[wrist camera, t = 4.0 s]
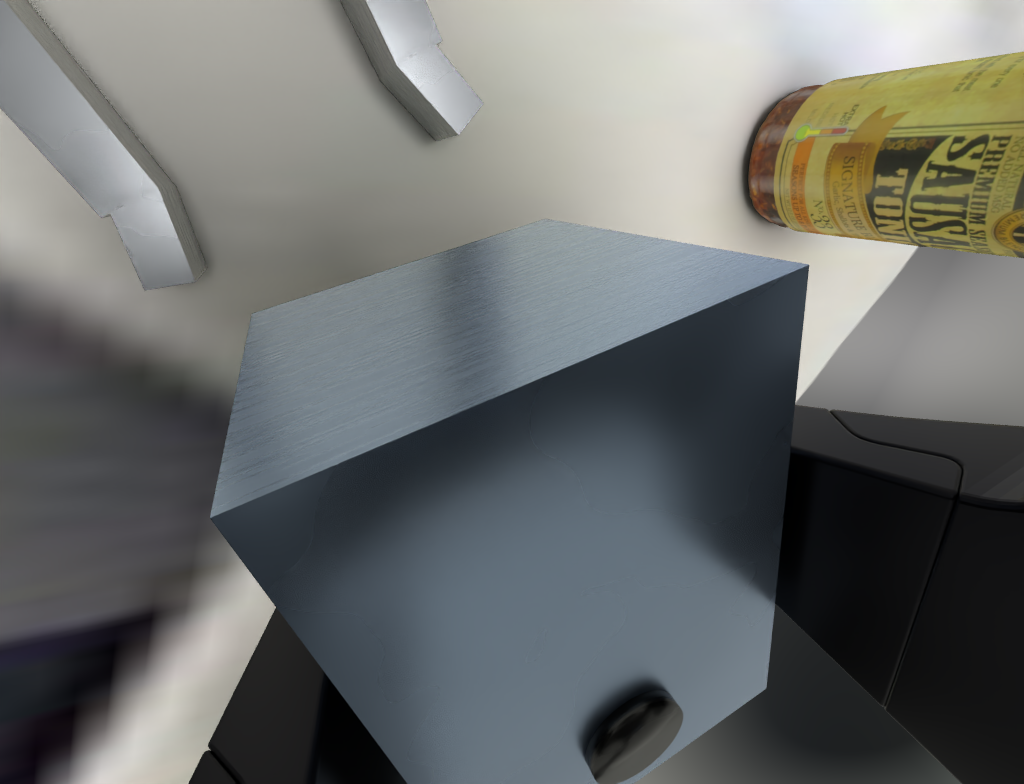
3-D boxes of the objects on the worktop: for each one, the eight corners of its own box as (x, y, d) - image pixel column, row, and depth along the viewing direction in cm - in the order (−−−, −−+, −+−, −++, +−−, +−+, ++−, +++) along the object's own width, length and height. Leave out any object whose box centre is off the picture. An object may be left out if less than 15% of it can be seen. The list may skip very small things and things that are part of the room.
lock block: (405, 605, 10) (492, 909, 6) (251, 313, 7) (206, 539, 3) (595, 506, 12) (776, 699, 7) (545, 219, 8) (831, 269, 4)
